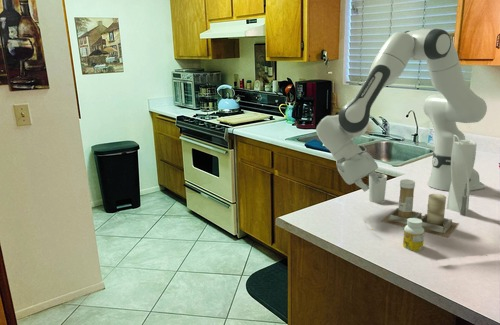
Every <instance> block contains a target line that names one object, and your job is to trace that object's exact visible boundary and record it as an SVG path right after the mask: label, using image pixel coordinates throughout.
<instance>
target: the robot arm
mask: <svg viewBox="0 0 500 325" xmlns="http://www.w3.org/2000/svg"><path fill="white" fill-rule="evenodd" d="M455 46H456V45H455V44H454V41H453V40H452V38H451V36H450V34H449V33H448V31H447V30H444V29H441V28H434V29H433V28H420V29H416V30H407V31H395V32H394V33H392V34H391V35H390V36H389V37H388V38H387V39H386V41H385V42H384V43H383V44H382V46H381V48H380V49H379V51H378V52H377V53H376V56H375V57H374V59H373V61H372V63H371V66H370V69H369V71H368V75H367V77H366V79H365V81H364V82H363V84H362V85H361V87H360V88H359V90H358V92H357V94H356V95H355V96H354V97H353V98H352V99H351V100H350V101H349V102H347V103H346V104H345V105H343V106H342V108H341V109H340V110H339V113H338V114H337V115H326V116H324V117H323V118H322V119H320V121H319V122H318V124H317V125H316V128H315V132H316V136H317V137H318V139H319V140H320V142H321V143H322V144H323V146H324V147H325V148H326V149H327V150H329V152H330V153H331V155H332V158H334V160H335V161H336V163H335V164H336V165H335V166H336V168H337V171H338V173H339V175H340V176H341V178H342V179H343V181H344V182H345V183H346V184H347V185H352V184H355V185H356V186H357V187H358V188H360V189H361V190H362V191H363V193H364V192H367V191H369V184H365V183H364V181H363V178H365V177H369V176H370V177H372V179H373V182H374V183H375V184H376V185H377V184H378V183H380V180H379V178H378V176H377V173H378V172H377V171H376V170H378V168H379V165H378V164H377V161H376V160H375V159H374V158H373V156H372V155H371V154H370V153H369V152H367V148H366V147H365V146H364V145H360V144H356V143H355V142H354V141H353V140H356V139H357V138H359V137H361V136H363V135H364V134H365V133H366V132H367V129H368V128H369V127H368V125H369V121H370V116H371V108H372V106H373V104H374V103H375V101H376V100H377V98H378V96H379V95H380V93H381V92H382V90H383V89H384V88H385V87H386V86H390V85H393V84H395V82H396V81H397V80H398V79H399V77H400V76H401V75H402V73H403V72H404V70H405V68H406V66H407V64H408V63H409V61H410V60H411V61H426V65H427V69H428V73H429V78H430V81H431V85H432V87H433V88H434V89H435V91H437V92H439V93H434V94H430V95H428V96H427V97H426V98H425V100H424V101H423V102H424V103H423V105H422V106H423V112H424V114H425V115H426V116H427V117H428V118H429V121H430V122H431V124H432V127H433V129H434V137H435V140H434V152H433V153H432V167H431V172H430V176H429V178H428V181H427V186H428V187H431V188H433V189H435V190H441V191H445V192H447V191H448V192H449V190H450V185H451V181H452V179H451V155H452V147H453V136H454V135H456V136H458V138H459V139H460V140H466V135H465V134H464V133H463V132H462V131H461V130H460V129H459V127H458V125H457V123H462V124H470V123H471V124H472V123H473V124H475V123H479V122H481V121H482V120H483V119H484V118H485V116H486V114H487V111H488V110H487V108H488V107H487V102H486V101H485V99H484V98H482V97H480V96H478V94H476V93H475V92H474V91H473V90H472V89H471V87H470V86H469V85H468V83H467V82H466V79H465V78H464V75H463V72H462V68H461V63H460V59H459V55H458V51H457V49H456V47H455ZM456 136H455V142H459V141H458V138H457V137H456ZM480 181H481V180H480V174H479V172H478V170H476V169H475V168H473V171H472V174H471V176H470V179H469V192H470V191H477V190H478V191H479V190H483V189H486V185H485V184H484V183H482V182H480Z"/></svg>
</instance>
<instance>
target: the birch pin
mask: <svg viewBox="0 0 500 325" xmlns="http://www.w3.org/2000/svg"><path fill="white" fill-rule="evenodd" d="M446 201H447V196H445V195H444V194H441V193H430V194H429V195H428V201H427V211H426V214H427V220H426V223H429V224H433V225H438V226H442V227H443V223H444V218H445V212H446V205H447V202H446Z"/></svg>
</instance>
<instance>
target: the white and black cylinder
mask: <svg viewBox="0 0 500 325" xmlns="http://www.w3.org/2000/svg"><path fill="white" fill-rule="evenodd" d="M376 173H377V176H378V178H379V180H380V183H378V184H377V185H376V184H375V183H374V182H373V179H372V177H370V176H369V175H368V187H369V189H368V200H369V201H370V202H372V203H377V204H379V203H380V204H381V203H384V202H385V199H386V198H385V196H386V188H387V179H388V175H386V174H384V173H378V172H376Z"/></svg>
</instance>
